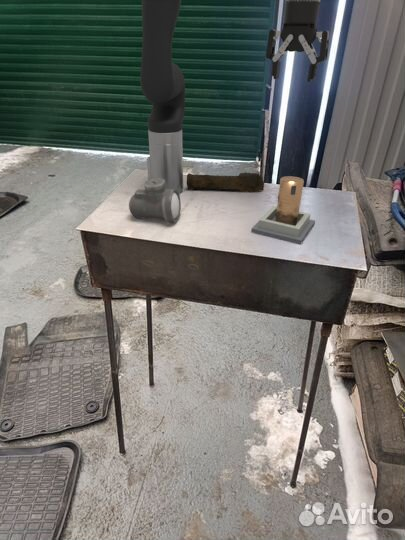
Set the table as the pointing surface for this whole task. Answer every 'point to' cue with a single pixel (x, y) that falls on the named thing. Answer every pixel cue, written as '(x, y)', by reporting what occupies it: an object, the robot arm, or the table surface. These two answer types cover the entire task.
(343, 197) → the table surface
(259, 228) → the duct flange
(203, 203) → the table surface
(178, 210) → the pipe fitting
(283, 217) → the copper cylinder
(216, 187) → the hand tool
